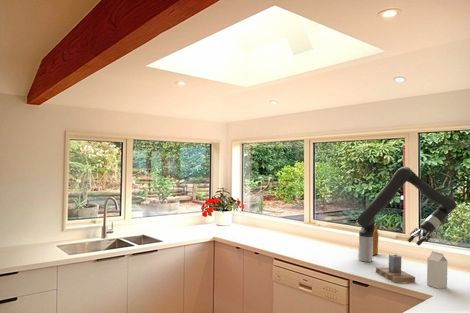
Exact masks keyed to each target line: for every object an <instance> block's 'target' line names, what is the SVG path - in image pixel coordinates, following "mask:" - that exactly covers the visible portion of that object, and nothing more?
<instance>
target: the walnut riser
mask: <svg viewBox="0 0 470 313" xmlns="http://www.w3.org/2000/svg"><path fill="white" fill-rule="evenodd" d="M375 273H377V274H378V275H380V276H382V277H383V276H384V278H385V277H386V278H385V279H387V280H389V281H390V280H391V282H392V283H395V284H397V283H399V284H400V283H401V282H408V283H416V277H415V276H414V275H412V274H410V273H408V272H406V271H404V270H403V269H401V273H392V272H390V271H389V266H385V267H384V266H380V267H379V266H377V267H375ZM401 284H402V283H401Z"/></svg>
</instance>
